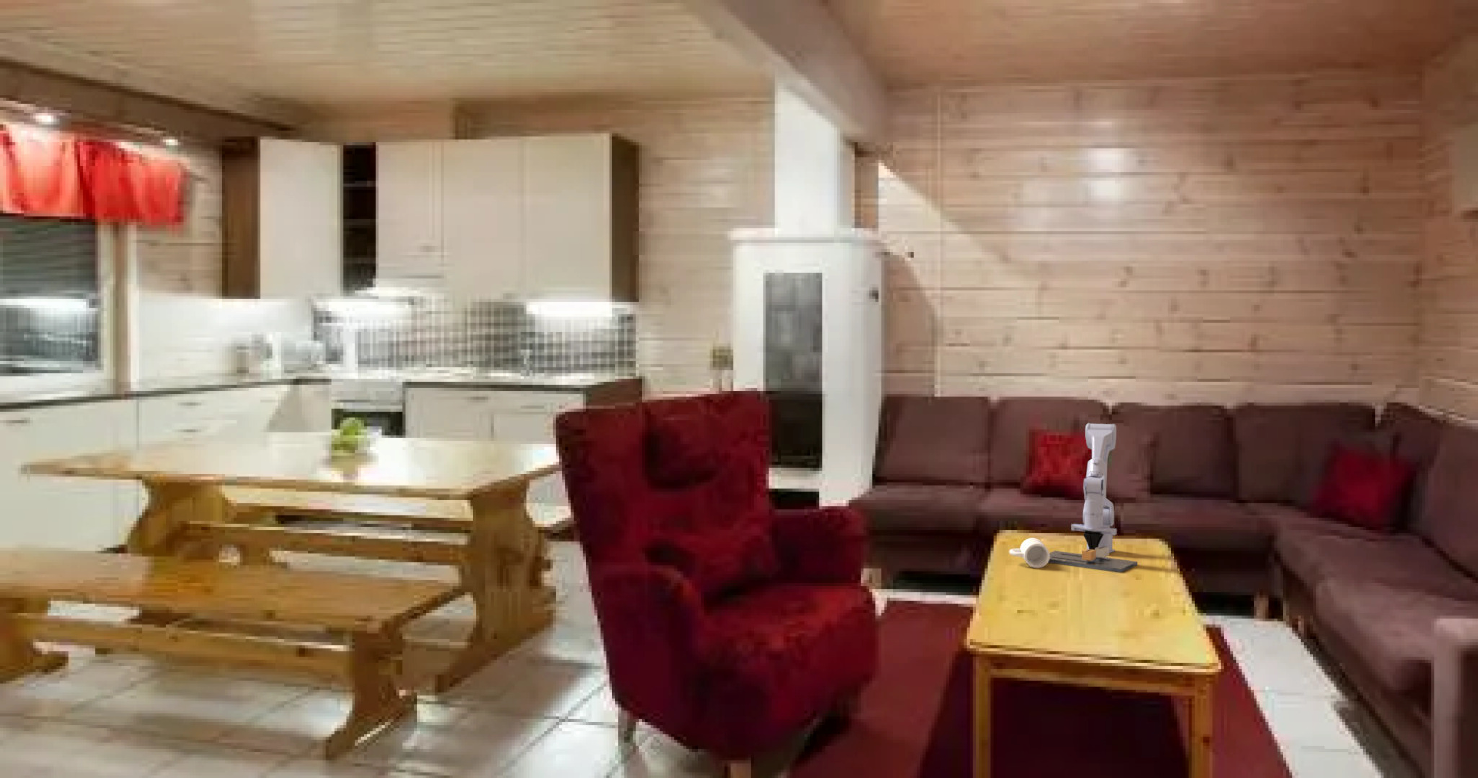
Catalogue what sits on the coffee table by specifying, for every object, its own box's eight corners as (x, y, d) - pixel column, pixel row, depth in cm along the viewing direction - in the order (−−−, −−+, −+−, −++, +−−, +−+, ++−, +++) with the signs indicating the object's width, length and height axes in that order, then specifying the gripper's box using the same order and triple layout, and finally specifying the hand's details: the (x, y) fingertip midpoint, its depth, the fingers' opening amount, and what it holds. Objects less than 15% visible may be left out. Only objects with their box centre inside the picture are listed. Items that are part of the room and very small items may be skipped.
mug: (1044, 562, 375) (1044, 538, 374) (1049, 568, 365) (1050, 543, 364) (1007, 561, 376) (1007, 537, 375) (1011, 567, 366) (1011, 543, 365)
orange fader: (1086, 559, 371) (1086, 548, 370) (1095, 560, 369) (1095, 549, 368) (1081, 561, 367) (1081, 550, 367) (1090, 562, 366) (1091, 551, 365)
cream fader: (1099, 556, 375) (1099, 545, 375) (1108, 557, 373) (1108, 546, 373) (1094, 558, 372) (1095, 547, 372) (1103, 559, 370) (1104, 548, 370)
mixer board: (1055, 554, 387) (1055, 550, 386) (1137, 565, 369) (1137, 561, 369) (1037, 561, 375) (1037, 557, 375) (1120, 572, 358) (1121, 568, 358)
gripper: (1067, 512, 375) (1067, 553, 376) (1110, 517, 366) (1110, 559, 367) (1076, 509, 380) (1075, 550, 381) (1119, 514, 371) (1118, 555, 372)
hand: (1093, 554), depth 374 cm, fingers closed
